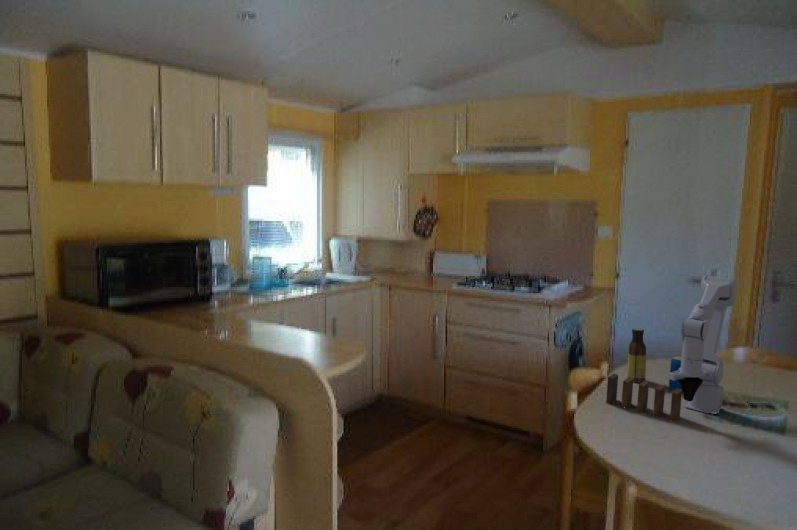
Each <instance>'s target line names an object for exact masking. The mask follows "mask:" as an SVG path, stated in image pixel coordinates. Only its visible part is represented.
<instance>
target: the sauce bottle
mask: <svg viewBox="0 0 797 530" xmlns="http://www.w3.org/2000/svg"><path fill="white" fill-rule="evenodd" d="M631 333H632V336H631V337H632V338H631V341H630V342H629V343H628V353H627V378H628V377H630V378H633V383H636V384H637V383H638V384H641V383H642V382H643V381H646V373H647V371H646V369H647V346H646V344H645V342H644V333H645V330H644V328H641V327H632V328H631Z"/></svg>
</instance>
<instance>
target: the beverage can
mask: <svg viewBox="0 0 797 530" xmlns="http://www.w3.org/2000/svg"><path fill="white" fill-rule="evenodd" d="M681 359H682V355H673V356H672V358H671V360H670V367H669V368H670V369H669V373H670V372H674V371H677V370H679V368H681ZM668 379H669V378H668ZM668 388H669V389H670V390H671V391H672V392H673V391H674V390H676V389H682V387H681V385H680V382H679V381H678V379H676V380H675V381H673V380H671V379H669V380H668ZM682 394H683V391H682Z"/></svg>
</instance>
